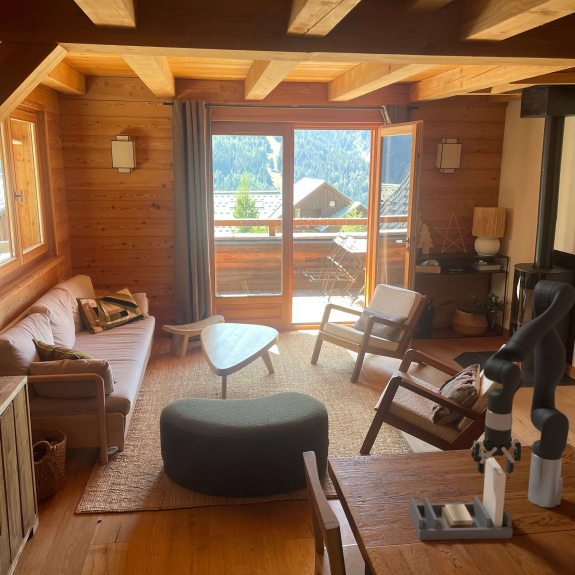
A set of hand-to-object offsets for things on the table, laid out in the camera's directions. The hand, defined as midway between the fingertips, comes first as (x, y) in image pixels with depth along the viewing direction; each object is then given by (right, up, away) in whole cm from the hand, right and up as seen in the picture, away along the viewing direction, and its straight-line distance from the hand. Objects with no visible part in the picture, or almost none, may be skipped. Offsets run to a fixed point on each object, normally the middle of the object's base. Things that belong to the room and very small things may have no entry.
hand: (494, 472), depth 176 cm
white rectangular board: (0, -17, +4) cm, 18 cm away
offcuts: (-11, -17, +4) cm, 21 cm away
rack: (-10, -18, +4) cm, 21 cm away
